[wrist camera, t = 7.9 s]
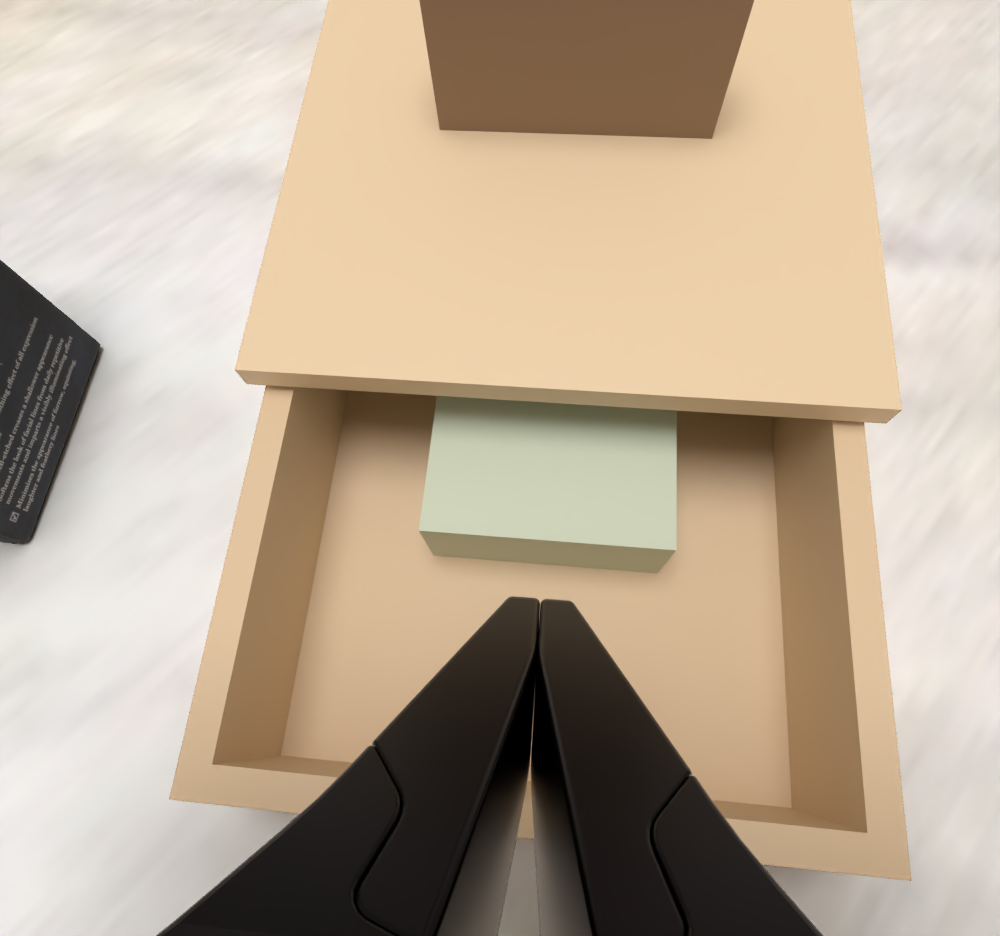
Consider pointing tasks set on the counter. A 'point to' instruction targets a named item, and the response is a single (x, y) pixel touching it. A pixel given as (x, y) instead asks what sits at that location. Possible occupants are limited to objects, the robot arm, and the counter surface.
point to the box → (35, 397)
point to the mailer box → (561, 598)
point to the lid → (582, 210)
